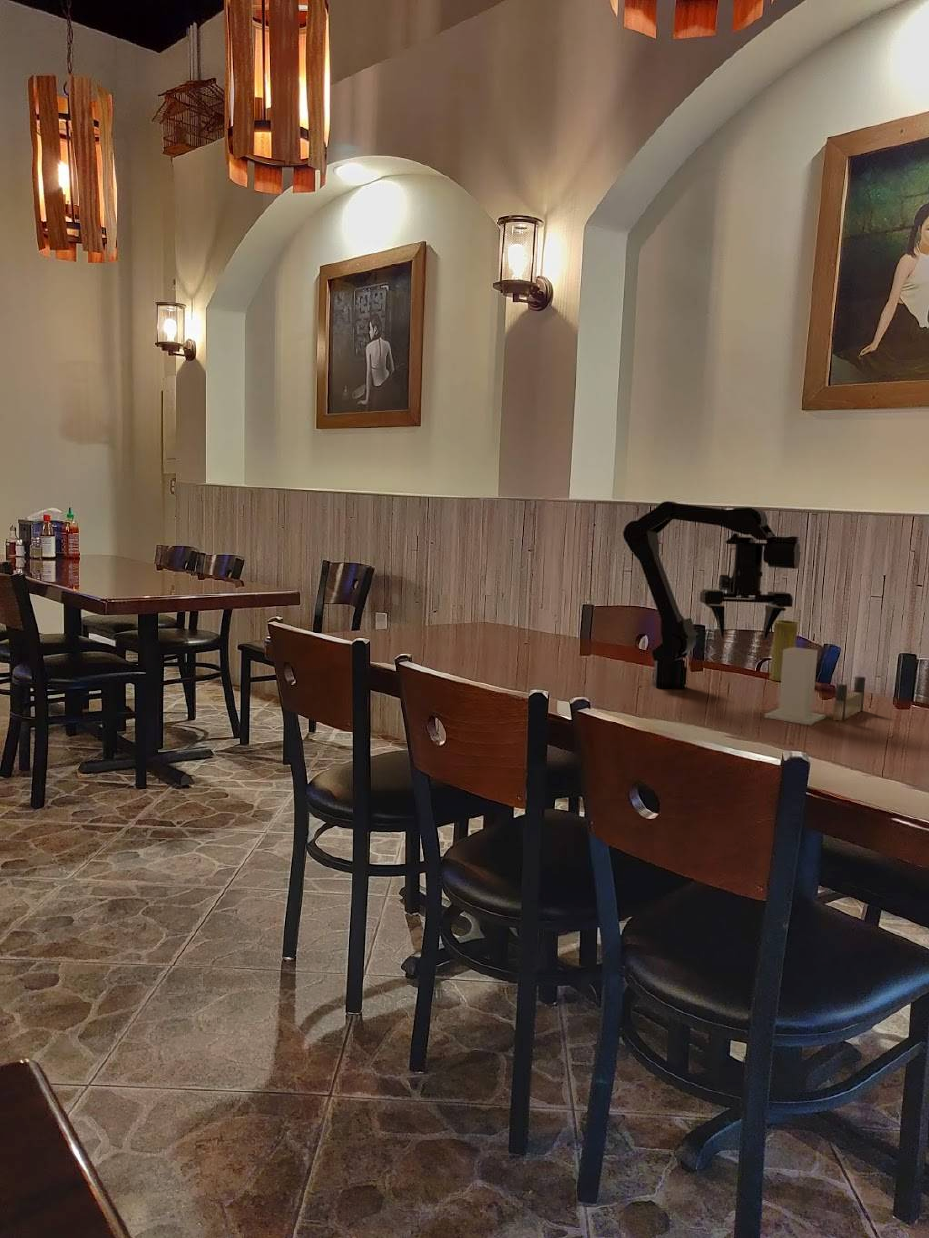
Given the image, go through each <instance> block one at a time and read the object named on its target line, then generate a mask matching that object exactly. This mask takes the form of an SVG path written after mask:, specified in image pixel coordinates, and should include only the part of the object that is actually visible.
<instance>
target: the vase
mask: <svg viewBox="0 0 929 1238" xmlns="http://www.w3.org/2000/svg"><path fill="white" fill-rule="evenodd" d="M798 626H799V625H798V622H797V621H795V620H785V619H783V620H781V619H778V620H777V619H776V620H775V622H774V627H773V628H774V629H773V638H772V639H773V641H772V651H771V661H770V662H771V663H770V672H769V677H768V679H769V680H771V681H774V680H775V682H780V681H781V673H782V659H783V650H784V649H787V648H791V647H796V648H797V639H798V636H797V635H798Z"/></svg>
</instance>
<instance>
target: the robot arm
mask: <svg viewBox="0 0 929 1238" xmlns="http://www.w3.org/2000/svg"><path fill="white" fill-rule="evenodd" d="M673 520H678V521H684V522H691V523H698V524H706V525H713V526H719V527H722V528H724V529H726V530H729V531H732V532H734V533H733V534H732V536H731V537H729V539H727V540H726V541H725V544H727V545H735V547H734V548H735V549H734V550H735V551H734V565H733V569H732V573H731V574H732V575H731V577H730V575H729V574H720V575H719V577H718V579H719V580H718V589H713V588H712V589H708V588H707V589H704V588H703V589H702V590H701V591H700V593H699V602H700V603H702V604H704V605H705V606H706V607H707V608H709V609H711V611H712V613H713V616H714V618H715V621H716V624H717V628H718V631H719V635H720V636H719V637H721V638H724V635H725V606H724V605H723V603H724V602H732V603H734V602H736V603H757V604H758V603H759V604H760V603H761V604H763V603H764V604H765V605H764V607H765V608H764V610H765V614H764V616H765V617H764V623H763V628H762V638H763V639H767V637H768V636H769V633H770V631H771V629H772V627H773V625H774V624H775V621H777V618H778V617H779V615H780V614H781V612H783V611H784V612H786V610H787V608H793V603H794V598H793V595H792V594H791V593H789V592H785V591H773V590H772V591H769V590H768V592H767V594H763V593H762V591H761V583H762V582H761V581H762V577H763V571H762V567H763V566H762V565H763V562H764V563H765V564H767V566H768V568H775V569H776V568H777V569H778V568H779V569H794V570H797V569H798V568H799V565H800V562H801V554H802V553H801V550H800V549H801V548H800V543H799V541H800V539H799V536H794V535H793V536H776V534H775V533H774V531H773V530H772V528H771V527H770V526H769V524H768V517H767V514H766V513H765V512H764V510H762V509H761V508H759V507H738V508H737V507H736V508H735V507H734V508H733V507H732V508H718V507H710V506H704V505H703V506H701V505H693V504H685V503H679V502H676V501H669V500H666V501H661V503H659V505H658V506H656V507H655V508H654V509H652V510H651V511H649V512H647V513H646V514H644V515H643V516H641V517H640V518H639V519H637V520H632V521H630V522H628V523H627V524H626V525H625V527H624V529H623V531H622V537H623V539H624V542H626V544H627V546H628V548H629V550H630V552H632V554H633V555H634V557H636V559H637V560H638V561H639V564H640V566H641V569H642V572H643V574H644V577H645V580H646V583H647V585H648V588H649V591H650V594H651V596H652V598H653V599H652V600H653V602H654V604H655V605H654V606H655V608H656V611H657V612H658V615H659V618H660V637H661V643H660V644H659V645H658V646H657V647H656V648H655V649H653V650H652V651H651V655H652V659H653V661H654V673H653V674H654V675H653V680H651V683H652V684H653V685H654V687H656V688H660V689H682V690H683V689H684V690H685V689H686V685H687V675H688V674H687V673H688V672H687V671H688V668H687V666H685V664H686V660H685V659H686V658H687V656H688V653H689V652H691V651H693V649H694V648H695V646H696V644H697V637H696V636H697V635H698V634H699V633H698V632H697V630H696V629H695V627H694V622H693V619H692V617H688V618H685V617H684V616H683V615H682V614H681V612H680V610H679V607H678V605H677V604H678V603H677V602H676V598H675V596H674V593H673V590H672V587H671V585H670V583H669V580H668V576H667V574H666V571H665V569H664V565H663V563H662V560H661V557H660V542H659V535H658V534H659V533H660V532H662V531H663V530H664V529H665V528H666V527H667V526H668V525H669V524H670V523H671V522H672V521H673ZM739 534H740V535H741V534H742V535H748V536H747V537H746V536H740V535H739ZM749 536H750V537H749ZM751 536H752V537H751ZM755 540H757V541H766V542H756V541H755ZM724 591H726V592H724Z"/></svg>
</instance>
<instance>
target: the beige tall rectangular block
mask: <svg viewBox="0 0 929 1238" xmlns="http://www.w3.org/2000/svg"><path fill="white" fill-rule="evenodd" d="M817 660H818V649H812V648H811V649H810V648H803V647H797V646H796V647H791V648H787V649H784V650H783V659H782V673H781V682H780V689H779V703H778V709H779V713H778V714H779V715H785V716H791V717H797V718H803V719H804V718H806V717H808V716H810V715H812V713H814V701H815V700H814V697H815V688H816V687H815V685H816V672H817Z"/></svg>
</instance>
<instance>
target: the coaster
mask: <svg viewBox="0 0 929 1238" xmlns="http://www.w3.org/2000/svg"><path fill="white" fill-rule="evenodd" d="M778 713H779V708H777V709H775V710H772V711H769V712H767V713H765V714H764V718H766V719H772V720H778V721H783V722H788V723H790V722H791V723H796V724H800V725H801V724H802V725H806V726H812V725H814V724H816V723H818V722H820V721H822V720H824V719H826V718H827V715H826V714H824V713H817V712H813V713H812V715H810V716H808V717H806V718H804V719H803V718H797V717H791V716H785V715H779V714H778ZM825 717H826V718H825ZM815 722H816V723H815ZM813 723H814V724H813Z"/></svg>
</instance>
